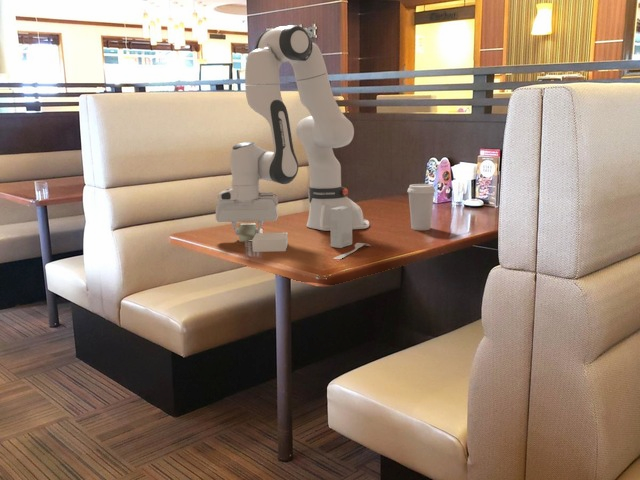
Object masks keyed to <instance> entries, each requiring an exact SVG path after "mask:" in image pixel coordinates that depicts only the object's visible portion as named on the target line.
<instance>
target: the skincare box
mask: <svg viewBox="0 0 640 480" xmlns="http://www.w3.org/2000/svg"><path fill="white" fill-rule="evenodd" d="M329 234H330V235H329V236H330V247H331V248H337V249H342V248H345V247H348V246H351V245H353V229H352V207H348V206H340V207H336V208H332V209H330V233H329Z"/></svg>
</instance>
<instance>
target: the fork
mask: <svg viewBox="0 0 640 480" xmlns="http://www.w3.org/2000/svg"><path fill="white" fill-rule="evenodd" d="M364 246H367V247H371V246H372V245H370V244H369V243H364V242H356V243H355V244H354V249H352V250H351V251H348V252H344V253H343V254H340V255H338V256H335V257H333V259H341V260H342V258H343V259H344V258H345V257H347V256H349V255H351V254H352V253H355V252H356V251H357V250H358V249H359V248H361V247H364Z"/></svg>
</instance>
